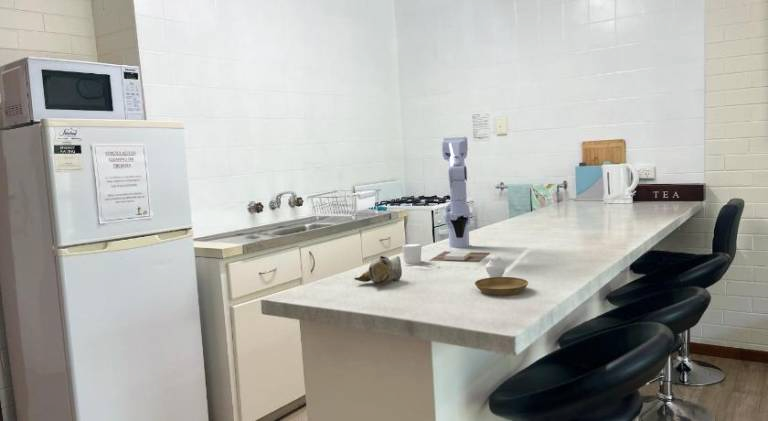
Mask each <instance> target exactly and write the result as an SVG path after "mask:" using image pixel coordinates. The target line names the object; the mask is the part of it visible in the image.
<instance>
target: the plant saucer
mask: <svg viewBox="0 0 768 421" xmlns="http://www.w3.org/2000/svg"><path fill="white" fill-rule="evenodd" d="M528 284H529V281H528V280H526V279H523V278H519V277H515V276H514V277H513V276H502V277H491V278H490V277H483V278H480V279H477V280H476V281H474V285H475V286H476V287H477V289H478V290H480V292H482V293H483V294H486V295H489V296H490V295H491V296H500V297H501V296H502V297H503V296H512V295H513V294H514V295H518V294H521V292H523V291H524V290H525V288H526V287H527V286H528Z"/></svg>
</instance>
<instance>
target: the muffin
mask: <svg viewBox="0 0 768 421" xmlns="http://www.w3.org/2000/svg"><path fill="white" fill-rule="evenodd" d="M484 268H485V270H486V272H487V274H488V276H489V278H491V277H503V276H504V273H505V271H506V268H507V266H506V264H505V263H504V262H503V260H502V258H501V257H500V256H498V255H493V256H490V258H489V261H488V262H487V263H486V264H485V267H484Z"/></svg>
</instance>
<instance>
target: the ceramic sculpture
mask: <svg viewBox="0 0 768 421" xmlns="http://www.w3.org/2000/svg"><path fill="white" fill-rule="evenodd" d="M402 274H403V269H402V263H401V258H400V256H396V257H394V258H391V259H390V258H388V257H387V256H382V255H381V256H380V257H379V258H378V260H375V261H373V262H371V263H370V264H369V266H368V270H367V271H365V272H363V273H362V274H361V275H360V276H358V277H354V278H353V279H354V280H355V281H359V282H363V283H367V282H370V281H372V282H373V284H374V285H377V286H382V285H384V284H386V283H388V282H389V281H391V280H392V281H399V280H400V279H402V276H403V275H402Z"/></svg>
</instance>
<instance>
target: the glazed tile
mask: <svg viewBox="0 0 768 421" xmlns="http://www.w3.org/2000/svg"><path fill="white" fill-rule="evenodd" d="M449 252H450V253H448V254H447V255H445V260H450V261H449V262H453V261H464V260H466V259H467V258H469V257H470V256H471V252H472V251H458V250H456V251H455V250H452V251H449Z"/></svg>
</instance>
